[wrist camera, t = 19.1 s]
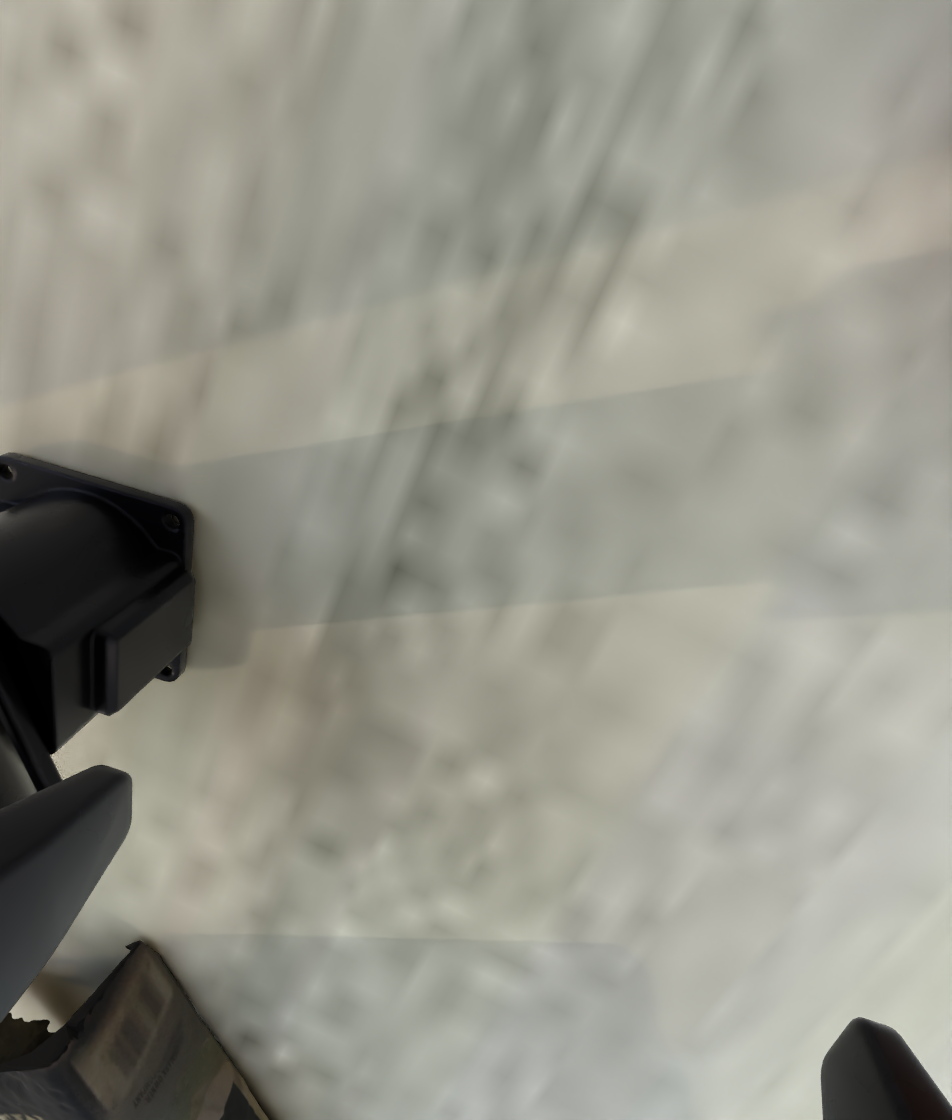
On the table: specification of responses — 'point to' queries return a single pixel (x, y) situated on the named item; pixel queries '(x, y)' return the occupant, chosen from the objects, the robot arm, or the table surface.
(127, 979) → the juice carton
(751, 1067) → the table surface
